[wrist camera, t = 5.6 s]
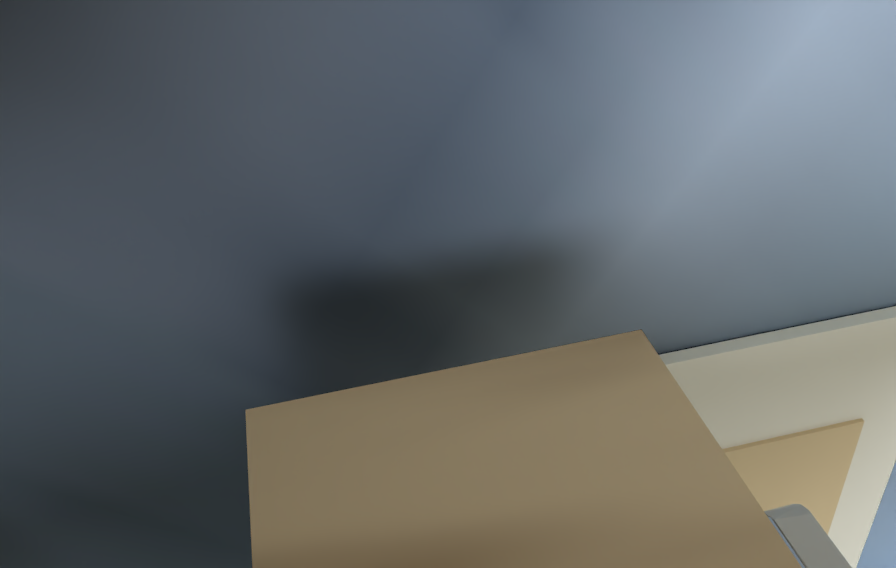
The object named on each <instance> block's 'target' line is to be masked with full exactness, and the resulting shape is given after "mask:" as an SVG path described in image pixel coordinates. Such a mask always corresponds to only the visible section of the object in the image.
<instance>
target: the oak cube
mask: <svg viewBox="0 0 896 568" xmlns="http://www.w3.org/2000/svg"><path fill="white" fill-rule="evenodd" d="M245 411H246V434H247V456H248V479H249V502H250V524H251V547H252V568H802V567H801V566H800V564H799V563H798V561H797V560H796V558H795V557H794V555H793V554H792V552H791V551H790V549H789V548H788V546H787V545H786V543H785V542H784V540H783V539H782V537H781V536H780V534H779V533H778V531H777V530H776V529H775V527H774V526H773V524H772V523H771V521H770V520H769V518H768V517H767V515H766V514H765V512H764V511H763V509H762V508H761V506H760V505H759V503H758V502H757V500H756V499H755V497H754V496H753V494H752V493H751V491H750V490H749V488H748V487H747V485H746V484H745V483H744V481H743V480H742V478H741V477H740V475H739V474H738V472H737V471H736V469H735V468H734V466H733V465H732V463H731V462H730V460H729V459H728V457H727V456H726V454H725V453H724V451H723V450H722V448H721V447H720V445H719V444H718V442H717V441H716V440H715V438H714V437H713V435H712V434H711V432H710V431H709V429H708V428H707V426H706V425H705V423H704V422H703V420H702V419H701V417H700V416H699V414H698V413H697V411H696V410H695V408H694V407H693V405H692V404H691V402H690V401H689V399H688V398H687V396H686V395H685V394H684V392H683V391H682V389H681V388H680V386H679V385H678V383H677V382H676V380H675V379H674V377H673V376H672V374H671V373H670V371H669V370H668V368H667V367H666V365H665V364H664V362H663V361H662V359H661V358H660V356H659V355H658V353H657V352H656V350H655V349H654V348H653V346H652V345H651V343H650V342H649V340H648V339H647V337H646V336H645V334H644V333H643V331H642V330H636V331H632V332H627V333H622V334H617V335H612V336H607V337H602V338H597V339H592V340H587V341H582V342H577V343H572V344H567V345H562V346H558V347H553V348H548V349H543V350H538V351H533V352H528V353H523V354H518V355H513V356H508V357H503V358H498V359H493V360H488V361H483V362H479V363H474V364H469V365H464V366H459V367H454V368H449V369H444V370H439V371H434V372H429V373H424V374H419V375H414V376H409V377H405V378H400V379H395V380H390V381H385V382H380V383H375V384H370V385H365V386H360V387H355V388H350V389H345V390H340V391H335V392H331V393H326V394H321V395H316V396H311V397H306V398H301V399H296V400H291V401H286V402H281V403H276V404H271V405H266V406H261V407H256V408H252V409H247V410H245Z"/></svg>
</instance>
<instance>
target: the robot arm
mask: <svg viewBox="0 0 896 568" xmlns="http://www.w3.org/2000/svg"><path fill="white" fill-rule="evenodd" d="M764 512H765V514H766V515H767V517H768V518H769V520H770V521H771V523H772V524H773V526H774V527H775V529H776V530H777V531H778V533H779V534H780V536H781V537H782V539H783V540H784V542H785V543H786V545H787V546H788V548H789V549H790V551H791V552H792V554H793V555H794V557H795V558H796V560H797V561H798V563H799V564H800V566H801V567H802V568H852V567H851V566H850V564H849V563H848V562H847V560H846V559H845V558H844V556H843V555H842V554H841V552H840V551H839V550H838V548H837V547H836V546H835V544H834V543H833V542H832V540H831V539H830V538H829V536H828V535H827V533H826V532H825V531H824V529H823V528H822V527H821V525H820V524H819V523H818V521H817V520H816V519H815V517H814V516H813V515H812V513H811V512H810V511H809V510H808V509H807V508H805V507H804V506H802V505H801V504H790V505H786V506H782V507H778V508H774V509H770V510H767V511H764Z"/></svg>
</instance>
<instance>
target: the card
mask: <svg viewBox="0 0 896 568" xmlns="http://www.w3.org/2000/svg"><path fill="white" fill-rule="evenodd" d="M659 356H660V358H661V359H662V361H663V362H664V364H665V365H666V367H667V368H668V370H669V371H670V373H671V374H672V376H673V377H674V379H675V380H676V382H677V383H678V385H679V386H680V388H681V389H682V391H683V392H684V394H685V395H686V396H687V398H688V399H689V401H690V402H691V404H692V405H693V407H694V408H695V410H696V411H697V413H698V414H699V416H700V417H701V419H702V420H703V422H704V423H705V425H706V426H707V428H708V429H709V431H710V432H711V434H712V435H713V437H714V438H715V440H716V441H717V442H718V444H719V445H720V447H721V448H722V450H723V451H724V453H725V454H726V456H727V457H728V459H729V460H730V462H731V463H732V465H733V466H734V468H735V469H736V471H737V472H738V474H739V475H740V477H741V478H742V480H743V481H744V483H745V484H746V485H747V487H748V488H749V490H750V491H751V493H752V494H753V496H754V497H755V499H756V500H757V502H758V503H759V505H760V506H761V508H762V509H763V511H767V510H770V509H774V508H778V507H782V506H786V505H790V504H801V505H802V506H804V507H805V508H807V509H808V510H809V511H810V512H811V513H812V515H813V516H814V517H815V519H816V520H817V521H818V523H819V524H820V525H821V527H822V528H823V529H824V531H825V532H826V533H827V535H828V536H829V538H830V539H831V540H832V542H833V543H834V544H835V546H836V547H837V548H838V550H839V551H840V552H841V554H842V555H843V556H844V558H845V559H846V560H847V562H848V563H849V564H850V566H851V567H852V568H856V566H857V564H858V561H859V558H860V556H861V553H862V550H863V547H864V545H865V542H866V539H867V537H868V534H869V531H870V529H871V526H872V523H873V520H874V518H875V515H876V512H877V510H878V507H879V504H880V502H881V499H882V496H883V493H884V491H885V488H886V485H887V483H888V480H889V477H890V475H891V472H892V469H893V466H894V464H895V461H896V306H894V307H889V308H884V309H879V310H874V311H869V312H864V313H860V314H855V315H850V316H845V317H840V318H835V319H830V320H826V321H821V322H816V323H811V324H806V325H801V326H796V327H791V328H787V329H782V330H777V331H772V332H767V333H762V334H757V335H752V336H748V337H743V338H738V339H733V340H728V341H723V342H718V343H713V344H709V345H704V346H699V347H694V348H689V349H684V350H679V351H675V352H670V353H665V354H660V355H659Z"/></svg>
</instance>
